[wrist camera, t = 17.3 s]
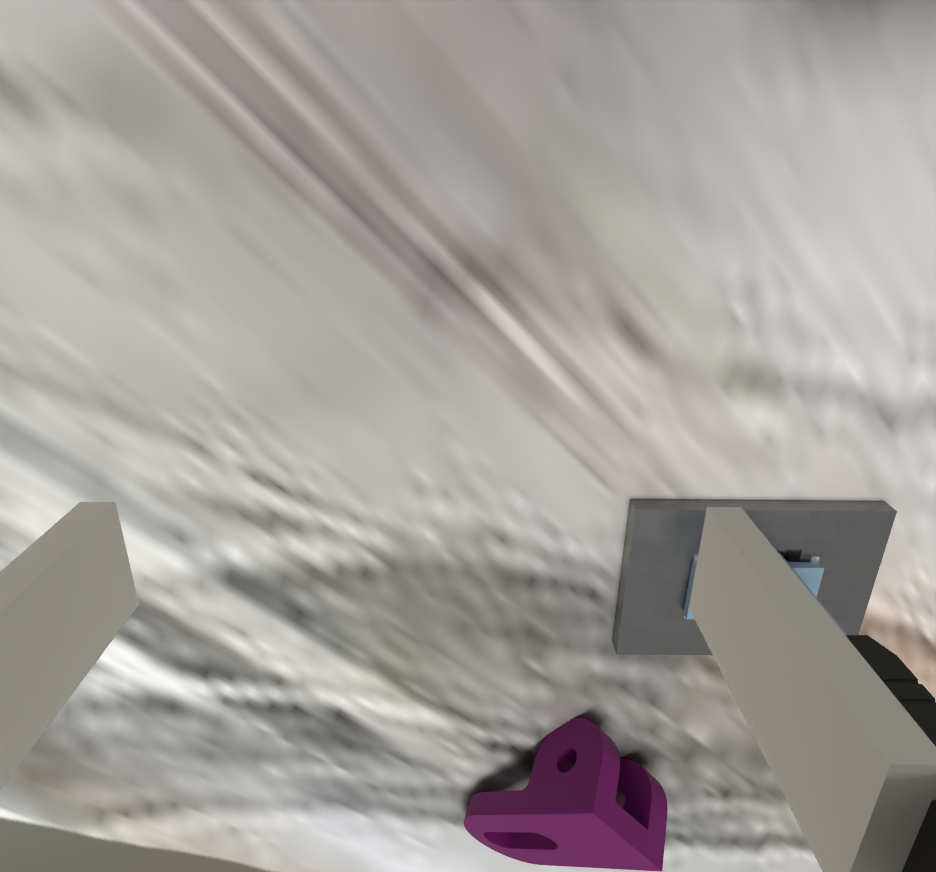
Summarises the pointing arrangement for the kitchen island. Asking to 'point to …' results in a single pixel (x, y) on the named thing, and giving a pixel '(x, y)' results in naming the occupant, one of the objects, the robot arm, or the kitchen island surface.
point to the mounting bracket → (577, 807)
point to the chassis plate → (783, 524)
